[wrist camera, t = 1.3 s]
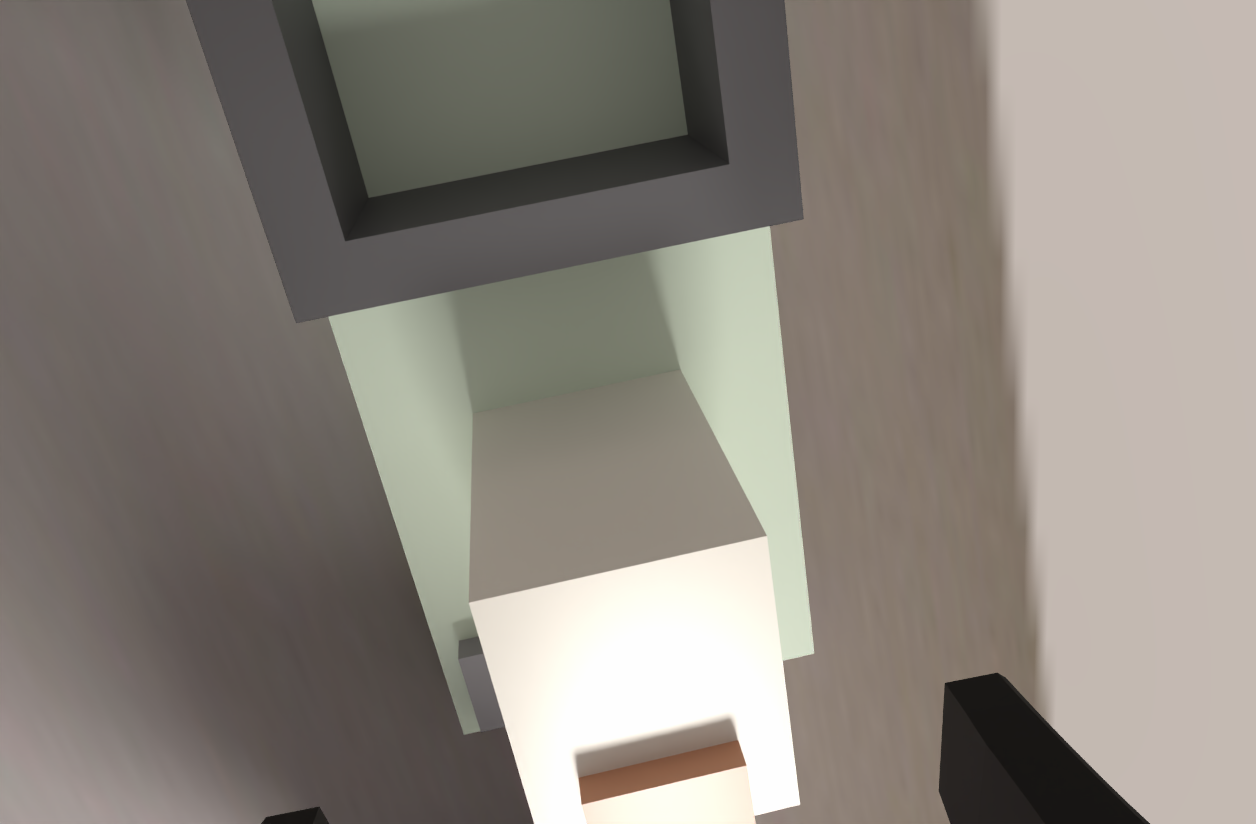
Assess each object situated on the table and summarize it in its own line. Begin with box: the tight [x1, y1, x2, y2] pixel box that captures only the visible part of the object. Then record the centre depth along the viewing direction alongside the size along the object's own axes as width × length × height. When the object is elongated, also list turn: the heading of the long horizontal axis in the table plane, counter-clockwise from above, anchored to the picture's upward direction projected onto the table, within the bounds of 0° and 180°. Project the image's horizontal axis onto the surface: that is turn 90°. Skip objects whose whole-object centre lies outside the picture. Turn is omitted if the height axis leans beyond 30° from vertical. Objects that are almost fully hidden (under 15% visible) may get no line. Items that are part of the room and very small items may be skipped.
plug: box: [469, 369, 800, 824], centre depth 16 cm, size 5×4×6 cm
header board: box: [186, 0, 814, 735], centre depth 16 cm, size 20×8×4 cm, turn 10°
